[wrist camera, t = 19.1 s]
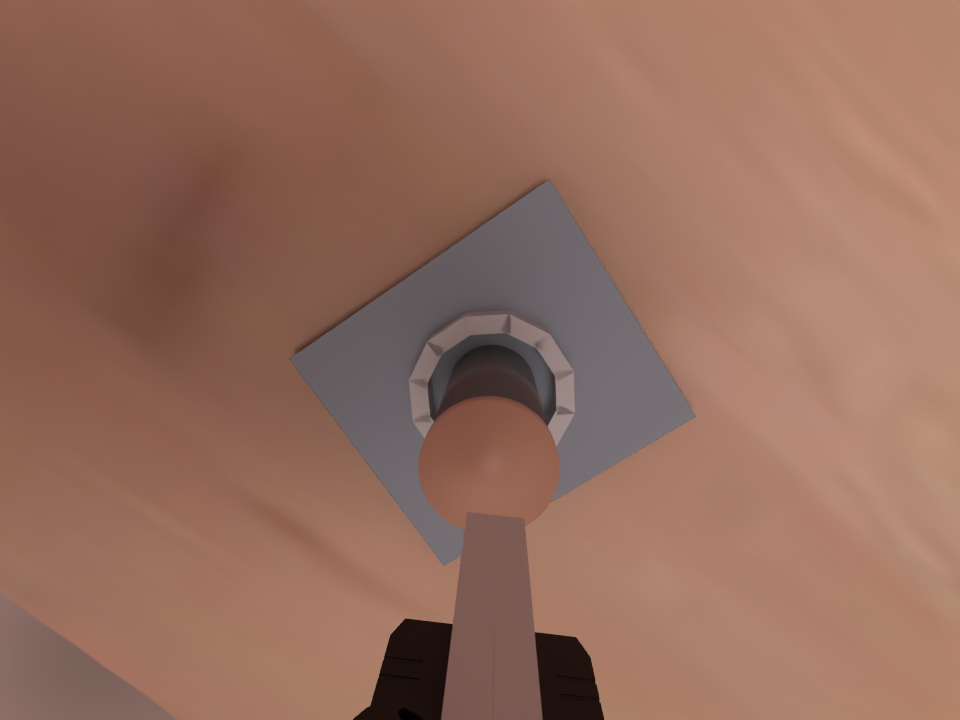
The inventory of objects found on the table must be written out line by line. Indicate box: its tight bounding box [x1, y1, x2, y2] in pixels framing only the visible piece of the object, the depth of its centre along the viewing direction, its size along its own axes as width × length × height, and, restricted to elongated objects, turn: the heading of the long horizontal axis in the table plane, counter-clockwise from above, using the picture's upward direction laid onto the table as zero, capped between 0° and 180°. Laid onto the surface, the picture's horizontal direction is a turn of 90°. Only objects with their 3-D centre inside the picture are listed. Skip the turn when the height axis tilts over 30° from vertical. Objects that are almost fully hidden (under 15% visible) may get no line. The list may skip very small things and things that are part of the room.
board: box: [290, 179, 696, 565], centre depth 31 cm, size 18×16×3 cm
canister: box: [418, 345, 560, 530], centre depth 25 cm, size 5×5×12 cm
